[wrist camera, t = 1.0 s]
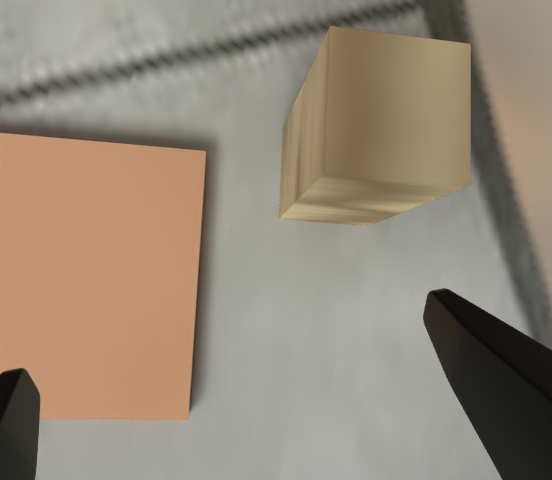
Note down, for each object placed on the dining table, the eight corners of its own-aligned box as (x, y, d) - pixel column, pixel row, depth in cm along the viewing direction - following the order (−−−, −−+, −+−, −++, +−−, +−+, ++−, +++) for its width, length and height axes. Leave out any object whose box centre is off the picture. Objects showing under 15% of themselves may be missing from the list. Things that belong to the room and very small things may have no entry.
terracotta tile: (206, 157, 24) (206, 151, 23) (189, 413, 23) (188, 419, 22) (-63, 134, 23) (-78, 125, 21) (-100, 409, 21) (-118, 417, 20)
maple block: (371, 137, 26) (470, 44, 16) (369, 225, 25) (470, 185, 15) (282, 128, 25) (330, 25, 15) (278, 219, 25) (324, 172, 15)
